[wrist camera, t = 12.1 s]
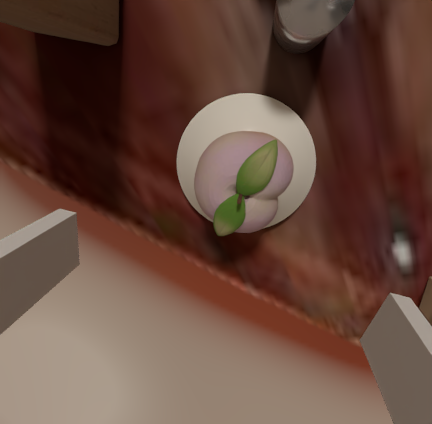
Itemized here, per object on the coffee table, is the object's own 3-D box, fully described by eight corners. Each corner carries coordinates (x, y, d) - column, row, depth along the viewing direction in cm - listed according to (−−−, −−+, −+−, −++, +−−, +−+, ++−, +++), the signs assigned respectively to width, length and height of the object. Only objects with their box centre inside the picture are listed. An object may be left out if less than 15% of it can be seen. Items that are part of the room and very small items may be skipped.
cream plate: (335, 110, 25) (339, 110, 24) (288, 237, 31) (290, 243, 30) (189, 80, 26) (186, 79, 25) (173, 209, 32) (170, 214, 31)
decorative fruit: (220, 111, 25) (198, 116, 16) (297, 138, 25) (318, 158, 16) (196, 194, 29) (168, 235, 20) (263, 217, 29) (264, 269, 20)
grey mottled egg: (340, -9, 21) (373, -55, 15) (319, 58, 24) (340, 42, 17) (282, -19, 22) (291, -68, 15) (266, 48, 24) (269, 29, 18)
